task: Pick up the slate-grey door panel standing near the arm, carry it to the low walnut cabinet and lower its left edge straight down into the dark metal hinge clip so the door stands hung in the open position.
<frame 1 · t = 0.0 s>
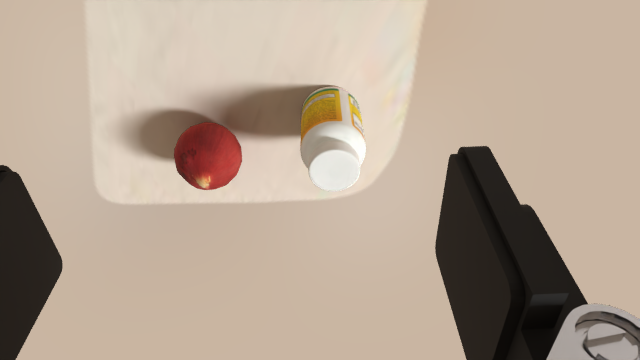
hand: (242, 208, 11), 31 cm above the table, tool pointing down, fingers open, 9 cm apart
supplement bottle: (329, 109, 45), on the table
onion: (214, 132, 46), on the table
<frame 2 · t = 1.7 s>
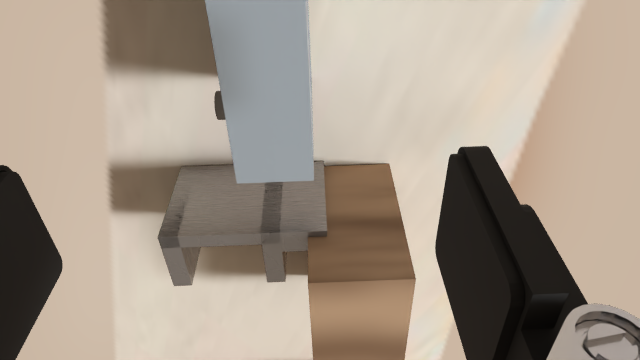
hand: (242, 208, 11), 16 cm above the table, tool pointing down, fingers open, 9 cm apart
hinge clip: (236, 188, 30), on the table
cabinet: (347, 224, 33), on the table
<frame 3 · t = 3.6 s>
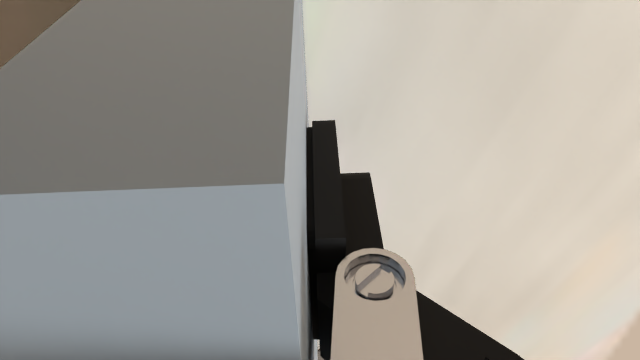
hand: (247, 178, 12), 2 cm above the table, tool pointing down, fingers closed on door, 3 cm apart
door: (254, 130, 13), on the table, touching gripper
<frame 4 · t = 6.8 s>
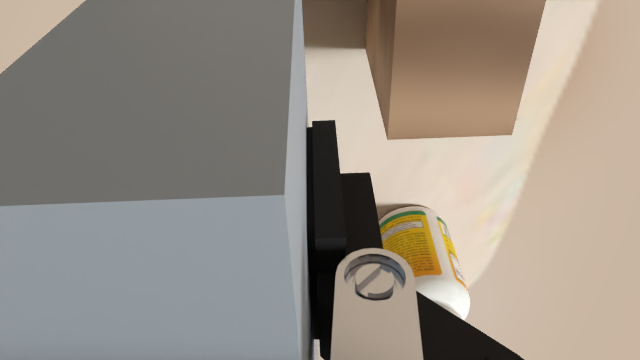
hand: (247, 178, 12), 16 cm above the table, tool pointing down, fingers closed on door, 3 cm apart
supplement bottle: (407, 228, 35), on the table
door: (254, 132, 13), point 14 cm above the table, touching gripper
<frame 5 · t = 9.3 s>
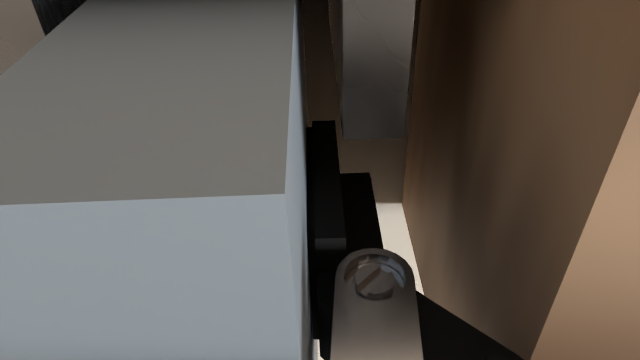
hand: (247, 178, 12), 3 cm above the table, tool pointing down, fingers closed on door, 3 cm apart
door: (254, 132, 13), point 1 cm above the table, touching gripper
cabinet: (502, 66, 14), on the table
when the fingers open (3 cm above the table, at t = 10.4 s): door drops 1 cm, on the table.
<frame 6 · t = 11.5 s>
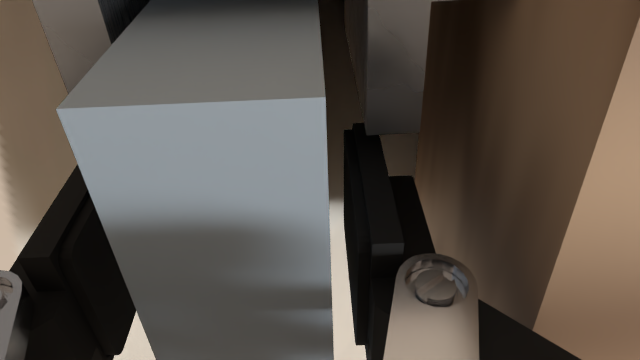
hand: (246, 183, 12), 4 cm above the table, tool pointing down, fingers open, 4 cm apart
door: (273, 113, 16), on the table
cabinet: (505, 70, 15), on the table
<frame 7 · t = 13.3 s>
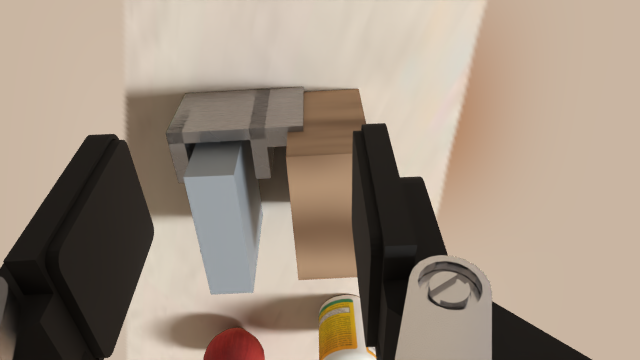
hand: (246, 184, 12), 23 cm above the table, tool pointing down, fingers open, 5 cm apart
supplement bottle: (344, 309, 49), on the table
door: (237, 165, 39), on the table
onion: (239, 328, 50), on the table
hinge clip: (231, 114, 36), on the table
cabinet: (327, 149, 38), on the table
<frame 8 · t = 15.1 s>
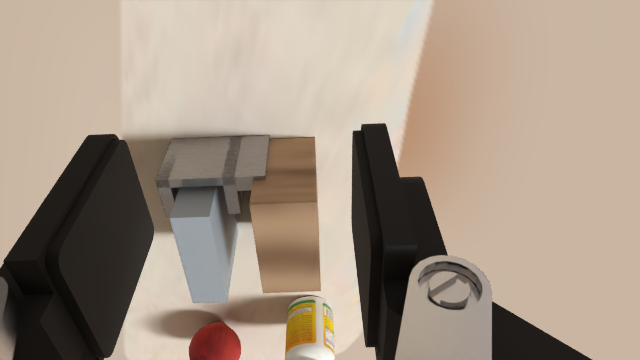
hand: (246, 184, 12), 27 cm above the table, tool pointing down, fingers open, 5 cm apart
supplement bottle: (309, 307, 58), on the table
door: (216, 194, 47), on the table
onion: (219, 321, 59), on the table
hinge clip: (210, 155, 44), on the table
cabinet: (290, 182, 46), on the table
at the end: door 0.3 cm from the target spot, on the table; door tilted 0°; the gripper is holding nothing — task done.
